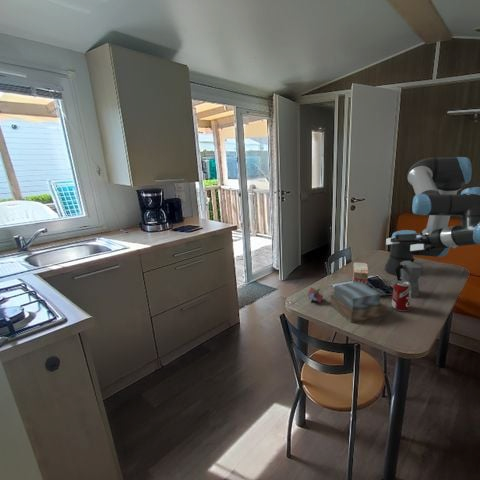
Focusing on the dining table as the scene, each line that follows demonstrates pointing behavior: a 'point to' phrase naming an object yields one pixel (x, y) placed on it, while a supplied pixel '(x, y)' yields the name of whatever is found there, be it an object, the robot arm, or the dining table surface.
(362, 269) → the stack of blocks
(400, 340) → the dining table surface
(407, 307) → the soda can
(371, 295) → the grey brown square block
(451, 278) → the dining table surface
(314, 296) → the geometric puzzle
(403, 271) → the coffeepot
